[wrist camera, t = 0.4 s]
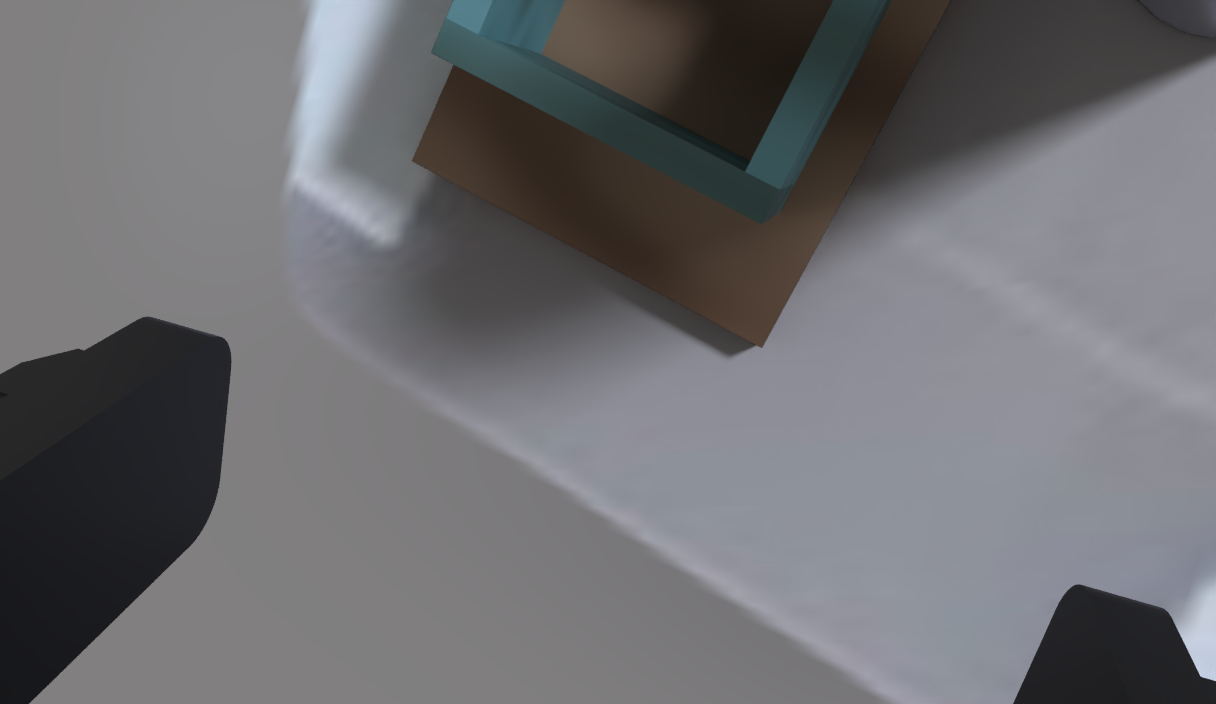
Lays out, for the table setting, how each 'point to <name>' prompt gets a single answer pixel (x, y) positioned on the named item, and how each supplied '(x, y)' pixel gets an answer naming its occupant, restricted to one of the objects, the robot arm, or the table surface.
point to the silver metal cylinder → (1186, 15)
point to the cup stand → (674, 130)
